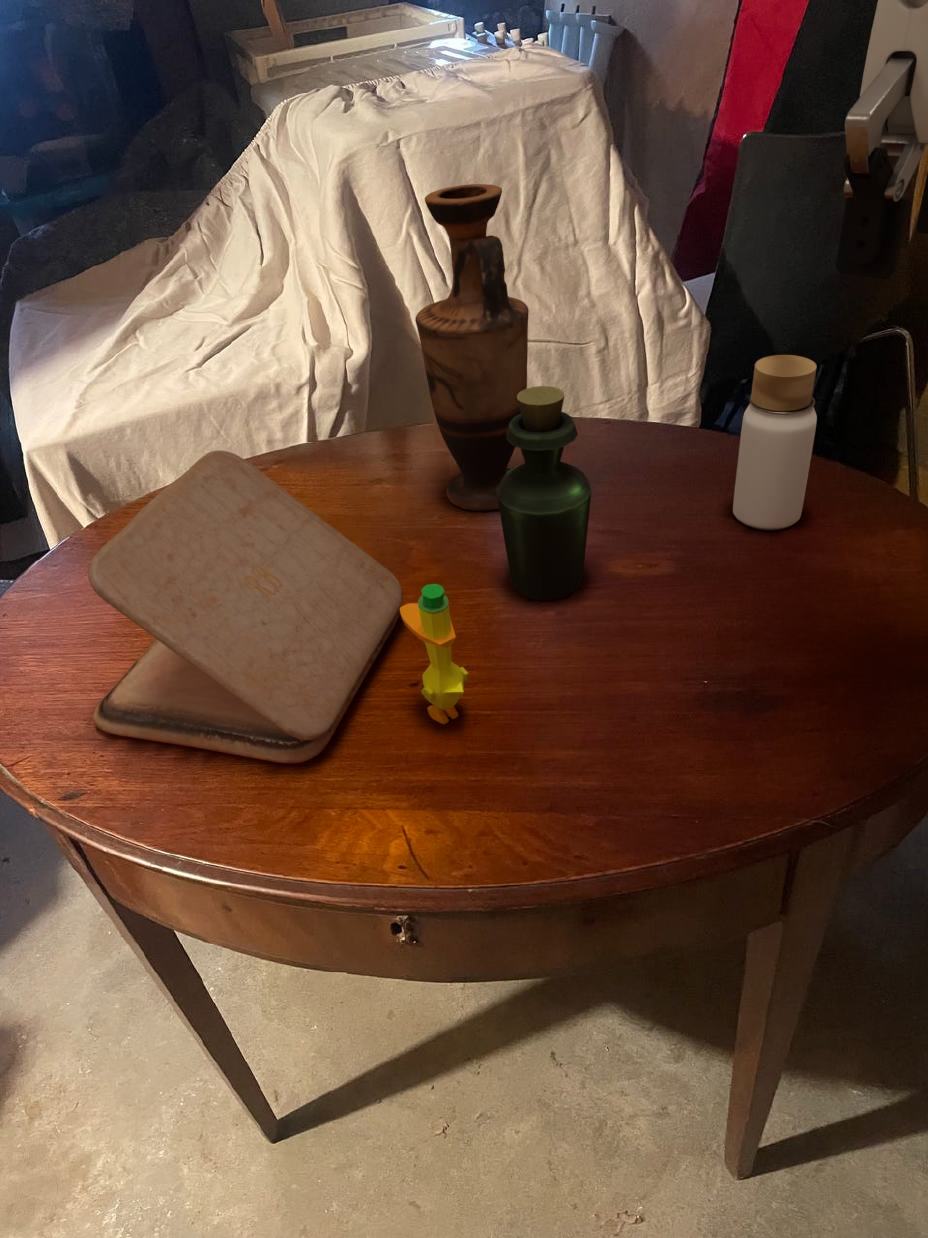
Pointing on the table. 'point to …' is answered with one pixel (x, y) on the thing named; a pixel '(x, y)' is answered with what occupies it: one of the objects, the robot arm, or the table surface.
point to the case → (240, 616)
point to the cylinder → (783, 382)
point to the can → (773, 466)
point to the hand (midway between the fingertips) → (905, 253)
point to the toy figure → (436, 651)
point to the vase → (474, 347)
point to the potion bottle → (544, 500)
